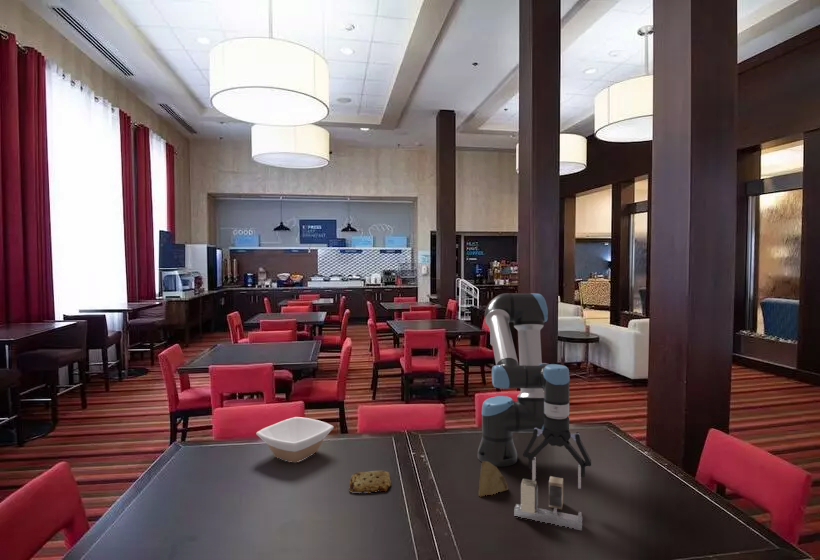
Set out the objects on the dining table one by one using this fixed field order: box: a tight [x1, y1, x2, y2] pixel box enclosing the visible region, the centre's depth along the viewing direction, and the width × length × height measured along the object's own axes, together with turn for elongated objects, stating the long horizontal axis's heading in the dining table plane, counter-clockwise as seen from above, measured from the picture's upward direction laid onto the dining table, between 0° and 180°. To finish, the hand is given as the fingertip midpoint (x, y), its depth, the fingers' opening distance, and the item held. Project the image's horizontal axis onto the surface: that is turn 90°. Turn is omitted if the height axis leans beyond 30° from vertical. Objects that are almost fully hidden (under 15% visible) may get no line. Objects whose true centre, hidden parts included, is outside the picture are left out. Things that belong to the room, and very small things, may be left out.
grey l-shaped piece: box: [513, 478, 583, 531], centre depth 135 cm, size 19×4×10 cm, turn 68°
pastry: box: [348, 470, 392, 493], centre depth 159 cm, size 17×17×3 cm
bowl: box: [256, 416, 334, 462], centre depth 182 cm, size 24×25×11 cm
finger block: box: [548, 475, 564, 510], centre depth 144 cm, size 4×4×8 cm
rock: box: [477, 461, 509, 498], centre depth 152 cm, size 11×9×10 cm
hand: (556, 483), depth 143 cm, fingers open, 13 cm apart
